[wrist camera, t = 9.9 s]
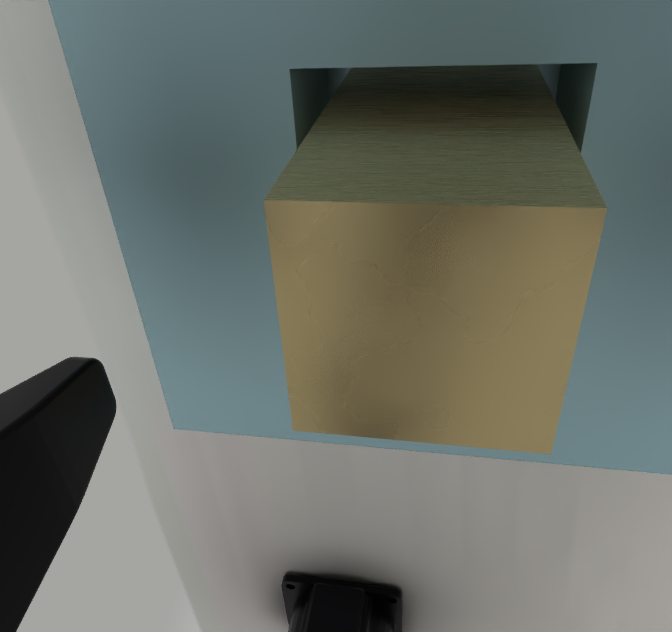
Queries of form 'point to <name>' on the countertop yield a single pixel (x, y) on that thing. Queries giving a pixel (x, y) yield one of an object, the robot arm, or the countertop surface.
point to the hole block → (288, 133)
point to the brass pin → (434, 258)
